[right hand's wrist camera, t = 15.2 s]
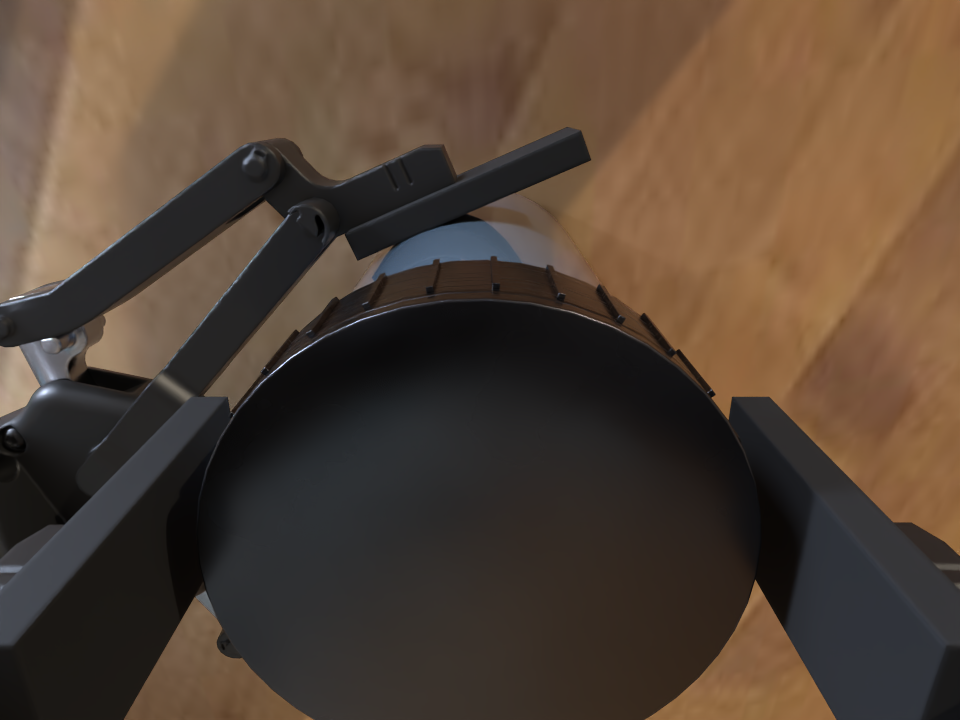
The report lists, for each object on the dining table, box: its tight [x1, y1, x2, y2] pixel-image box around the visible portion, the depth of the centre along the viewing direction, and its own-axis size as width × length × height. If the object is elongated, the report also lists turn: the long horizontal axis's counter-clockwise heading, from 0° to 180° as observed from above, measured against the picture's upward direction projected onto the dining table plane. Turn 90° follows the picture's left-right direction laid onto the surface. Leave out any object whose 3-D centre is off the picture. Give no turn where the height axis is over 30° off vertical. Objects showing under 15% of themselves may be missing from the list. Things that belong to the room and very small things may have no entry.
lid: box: [196, 256, 761, 720], centre depth 11 cm, size 9×9×2 cm
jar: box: [351, 193, 602, 293], centre depth 18 cm, size 8×8×16 cm
